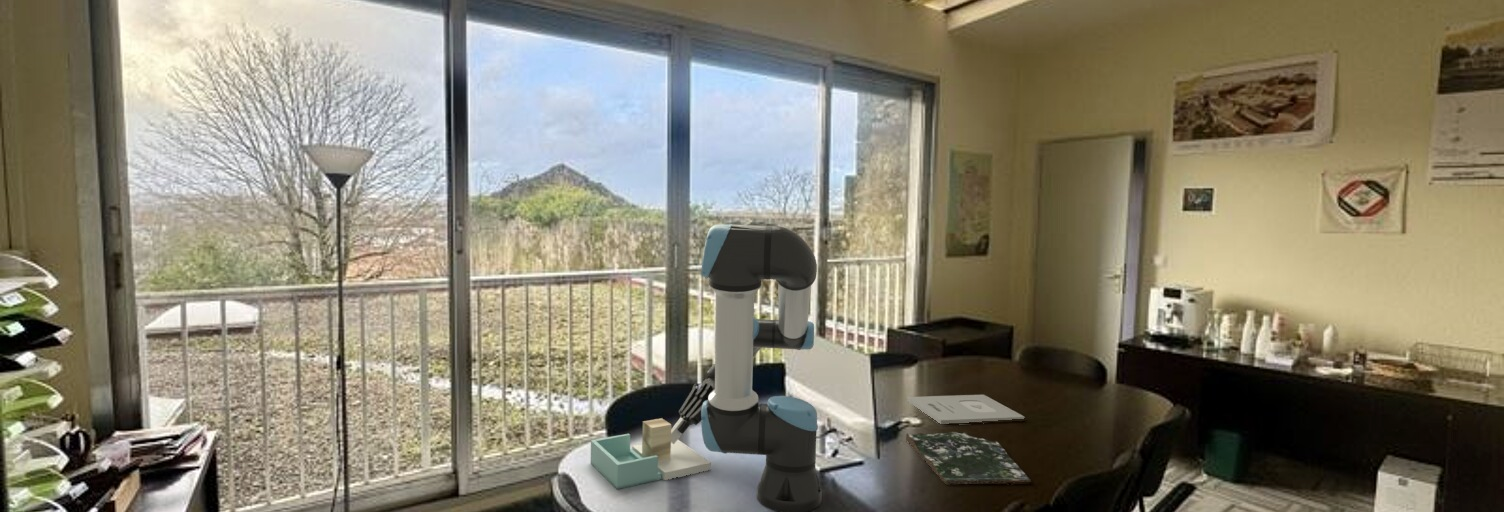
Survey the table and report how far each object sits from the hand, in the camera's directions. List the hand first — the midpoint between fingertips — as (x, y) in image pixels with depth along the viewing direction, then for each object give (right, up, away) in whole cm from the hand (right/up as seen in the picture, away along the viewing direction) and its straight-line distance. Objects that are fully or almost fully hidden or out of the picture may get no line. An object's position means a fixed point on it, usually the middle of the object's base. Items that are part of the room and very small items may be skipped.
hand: (669, 440), depth 175 cm
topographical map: (+82, -8, +8) cm, 83 cm away
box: (-10, -6, -7) cm, 14 cm away
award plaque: (+94, -5, +51) cm, 107 cm away
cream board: (0, -5, 0) cm, 5 cm away
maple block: (-3, -3, -3) cm, 5 cm away
